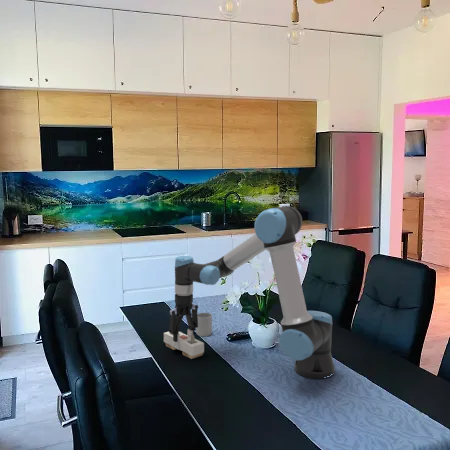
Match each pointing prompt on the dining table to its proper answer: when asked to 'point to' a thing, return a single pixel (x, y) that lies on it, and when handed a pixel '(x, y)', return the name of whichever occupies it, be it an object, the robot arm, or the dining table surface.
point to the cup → (204, 324)
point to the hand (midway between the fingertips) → (183, 346)
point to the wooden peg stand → (184, 352)
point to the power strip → (185, 343)
